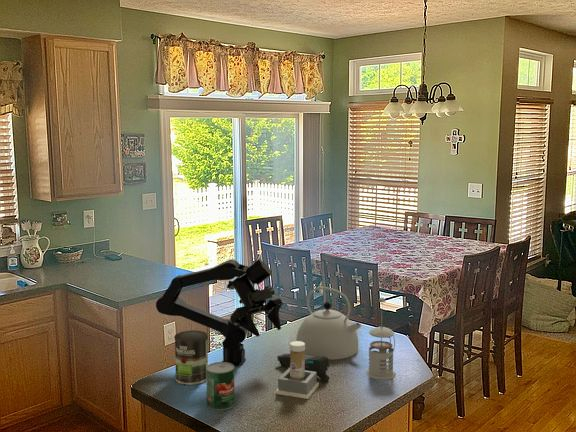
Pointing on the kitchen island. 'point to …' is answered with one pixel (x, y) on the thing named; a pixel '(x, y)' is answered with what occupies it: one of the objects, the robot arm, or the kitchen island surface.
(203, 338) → the coffee can
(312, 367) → the gun
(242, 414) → the kitchen island surface
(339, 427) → the kitchen island surface
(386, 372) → the french press
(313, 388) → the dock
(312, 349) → the kettle
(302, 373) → the sprinkles bottle
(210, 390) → the canned tomato
